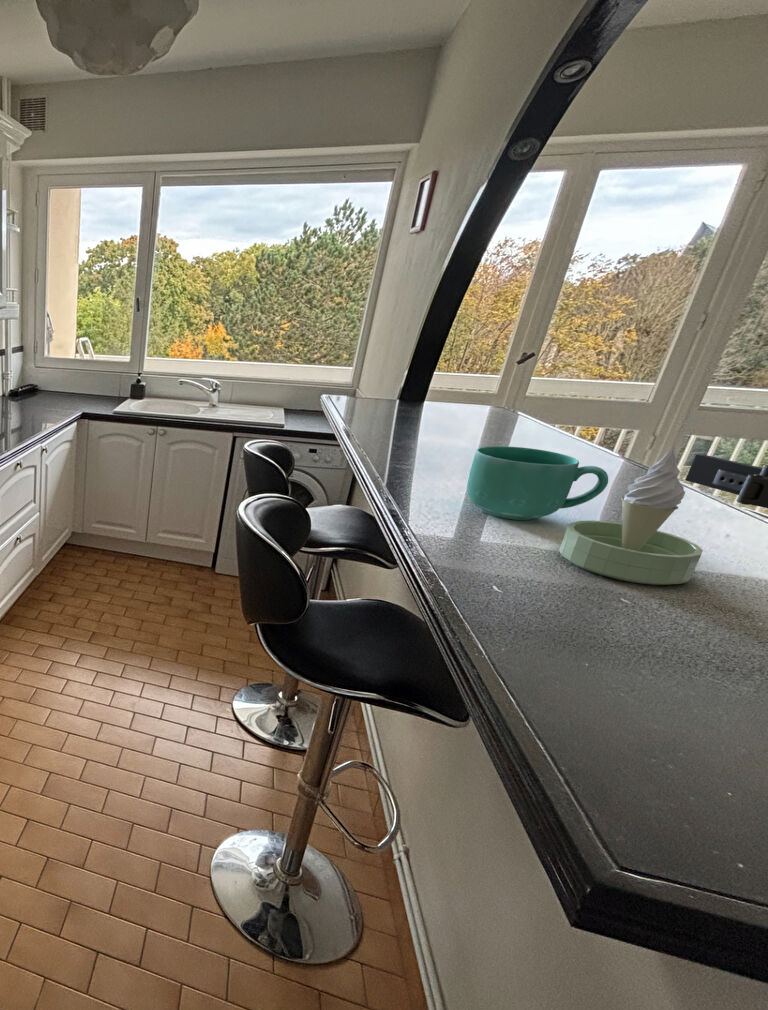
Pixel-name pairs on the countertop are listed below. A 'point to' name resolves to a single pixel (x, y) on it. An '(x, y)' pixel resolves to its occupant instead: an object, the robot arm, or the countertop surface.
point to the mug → (526, 482)
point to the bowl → (629, 554)
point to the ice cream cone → (650, 502)
